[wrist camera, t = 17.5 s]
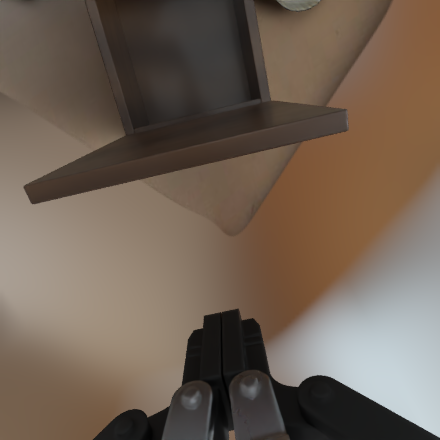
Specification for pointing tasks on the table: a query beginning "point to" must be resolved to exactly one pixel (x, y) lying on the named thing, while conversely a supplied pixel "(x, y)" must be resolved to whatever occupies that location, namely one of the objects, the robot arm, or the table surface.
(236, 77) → the chest
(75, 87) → the table surface
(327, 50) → the table surface
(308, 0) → the seashell
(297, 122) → the lid
